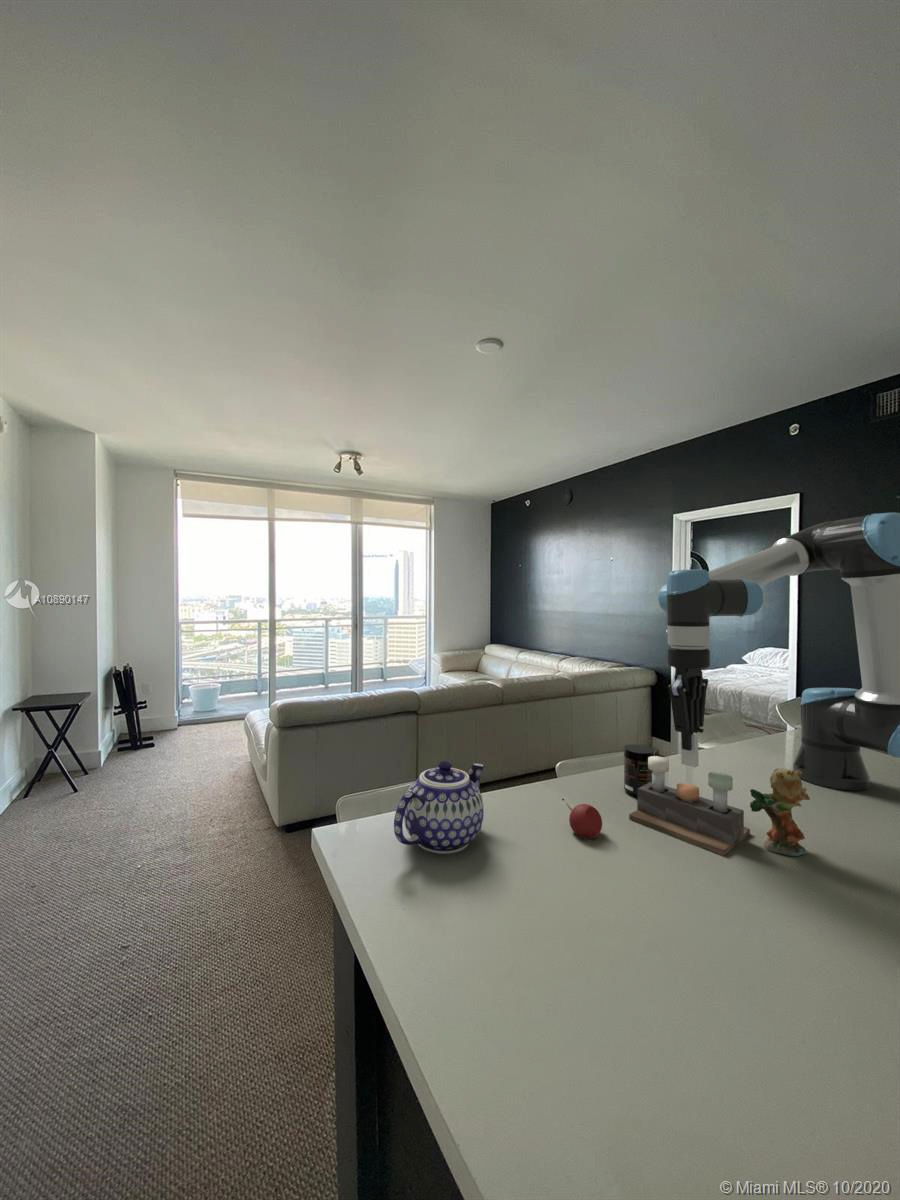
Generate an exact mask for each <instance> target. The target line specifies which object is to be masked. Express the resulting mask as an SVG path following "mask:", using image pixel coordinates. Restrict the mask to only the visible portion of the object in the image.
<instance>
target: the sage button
mask: <svg viewBox="0 0 900 1200" xmlns="http://www.w3.org/2000/svg"><path fill="white" fill-rule="evenodd" d="M707 776H708V777H707V784H708V787H709V788H712V801H713V810H714V811H717V812H720V813H727V805H728V794H729V793H728V792H729V791H732V790H733V776H731V775H730V774H727V773H723V772H717V771H711V772H708V775H707Z"/></svg>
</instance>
